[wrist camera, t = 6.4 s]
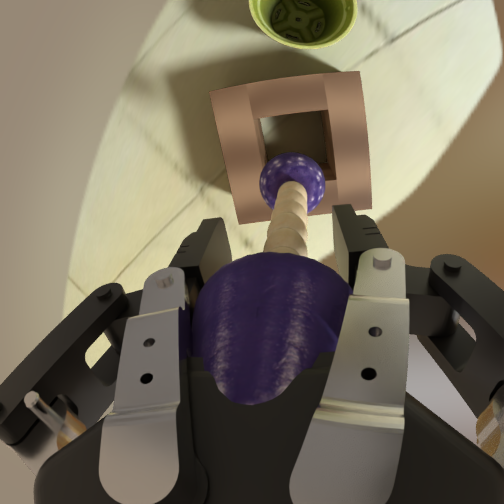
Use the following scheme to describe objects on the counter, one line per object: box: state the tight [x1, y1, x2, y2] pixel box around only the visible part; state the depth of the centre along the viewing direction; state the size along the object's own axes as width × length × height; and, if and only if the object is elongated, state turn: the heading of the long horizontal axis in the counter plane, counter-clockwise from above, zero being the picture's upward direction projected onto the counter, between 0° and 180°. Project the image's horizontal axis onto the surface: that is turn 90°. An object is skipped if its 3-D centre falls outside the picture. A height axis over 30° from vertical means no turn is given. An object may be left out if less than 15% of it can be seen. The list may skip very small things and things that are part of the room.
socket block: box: [209, 71, 372, 225], centre depth 31 cm, size 14×14×7 cm
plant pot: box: [249, 0, 357, 49], centre depth 23 cm, size 9×9×9 cm
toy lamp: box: [192, 152, 353, 405], centre depth 12 cm, size 5×5×17 cm
